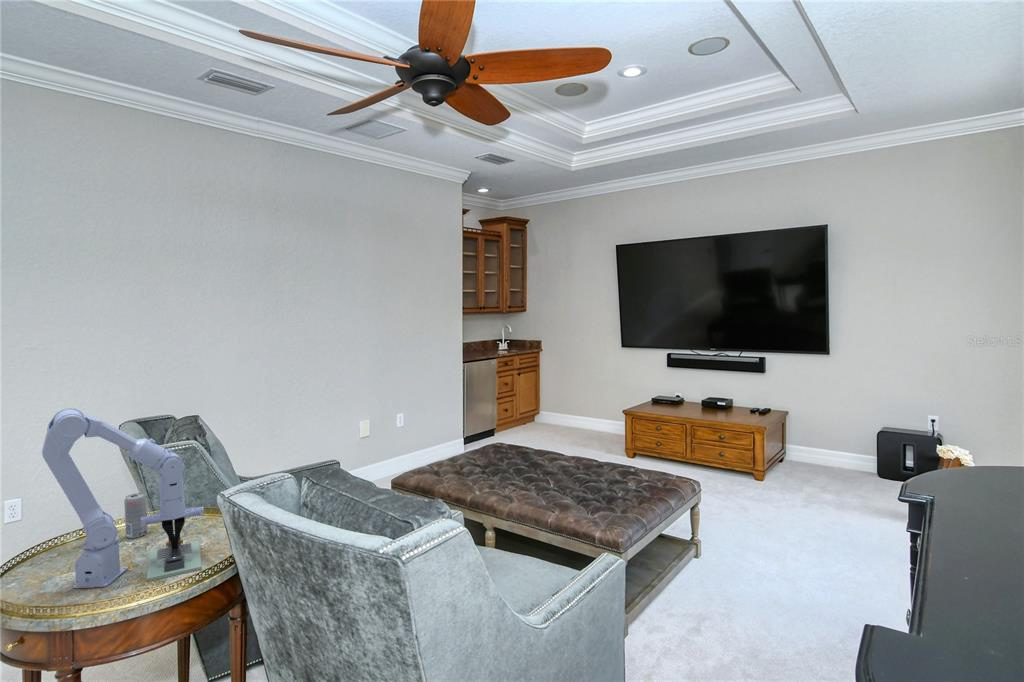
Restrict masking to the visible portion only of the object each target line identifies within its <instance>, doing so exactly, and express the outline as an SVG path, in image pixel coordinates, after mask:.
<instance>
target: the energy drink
mask: <svg viewBox="0 0 1024 682" xmlns="http://www.w3.org/2000/svg"><path fill="white" fill-rule="evenodd" d="M123 504H124V523H125V526H124V527H125V537H126V538H128V539H137V538H136V537H138V538H141V537H140V536H142V537H144V536H146V534H147V533H148V525H146V526H143V527H141V518H142V517H146V516H148V513H147V497H146V494H145V493H140V492H138V493H133V494H129V495H127V496H125V497H124V503H123ZM143 535H144V536H143Z"/></svg>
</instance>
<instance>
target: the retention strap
mask: <svg viewBox="0 0 1024 682" xmlns="http://www.w3.org/2000/svg"><path fill="white" fill-rule="evenodd" d="M181 544H184V539H183V538H180V539H179V540H178V546H176V547H172V545H171V542H170V541H169V540H168V541H166V542H165V548H166V547H167V558H166V563H167V562H171V561H176V560H181V559H182V555H181Z"/></svg>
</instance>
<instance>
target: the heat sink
mask: <svg viewBox="0 0 1024 682" xmlns="http://www.w3.org/2000/svg"><path fill="white" fill-rule="evenodd" d="M181 555H182V559H184V562H189V561H192V549H191V542H188V543H187V544H186V543H182V545H181ZM166 558H167V548H166V547H162V549H161V548H157V560H156V563H157V568H161V567H164V563H165V562H166Z"/></svg>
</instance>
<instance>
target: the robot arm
mask: <svg viewBox="0 0 1024 682" xmlns="http://www.w3.org/2000/svg"><path fill="white" fill-rule="evenodd" d="M83 435H84V437H85V438H86V439H87V438H96V437H99V438H102V439H104V440H105V441H108V442H110V443H112V444H114V445H116V446H118V447H120V448H122V449H125V450H127V451H128V457H129V458H131V459H132V460H134V461H137V462H138V463H140V464H142V465H144V466H146V467H149V468H150V469H152V470H157V472H158V481H159V482H158V491H159V507H160V508H159V509H160V512H158V513H155V514H151V515H147V516H146V517H142V518H141V527H143V526H146V525H147V526H148V525H153V524H159V523H161V527H162V530H163V531H164V532H165V534H166V535H167V536H168V537H169V539H170V542H171V545H172V547H176V546H178V540H179V536H180V537H181V532H182V530H183V528H184V525H185V523H186V519H185V518H192V517H196V516H197V517H198V516H199V517H201V516H205V515H204V514H205V512H204V511H205V509H204V506H198V507H187V508H186V503H185V500H186V499H185V488H184V487H185V485H184V478H183V475H184V474H183V472H184V471H185V468H186V464H185V463H184V459H183V458H181V457H180V455H178V454H177V453H176V452H175V451H172V449H170V448H164V447H162V446H160V445H159V444H158V443H156V440H154V439H153V438H149V439H148V438H145V437H143V438H140V439H138V438H137V439H136V438H134V437H132V436H131V435H129V434H127V433H126V432H124V431H123V430H120V429H119V428H117V427H115V426H114V425H112V424H110V423H108V422H106V421H105V420H102V419H100V418H98V417H97V416H93V415H91V414H88V413H86V412H85V413H83V412H82V411H81V410H79V409H77V408H72V407H68V408H64V409H61V410H60V411H59V410H58V412H57V413H55V414H54V415H53V417H52V418H51V420H50V422H49V423H48V425H47V431H46V433H45V438H44V442H43V445H42V450H41V454H42V458H43V459H44V461H45V463H46V464H47V466H48V468H49V470H50V471H51V473H52V474H53V476H54V478H55V480H56V481H57V483H58V484H59V486H60V487H61V489H62V491H63V492H64V494H65V496H66V497H67V499H68V501H69V502H70V504H71V506H72V507H73V509H74V511H75V512H76V514H77V516H78V518H79V520H80V521H81V524H82V526H83V527H82V529H83V531H84V533H85V537H86V540H85V541H84V543H83V544H82V547H83V548H82V553H81V554H80V556H79V557H77V559H76V560H75V564H74V569H75V584H74V585H72V588H73V589H86V588H104V587H106V588H107V587H108V586H109V585H111V583H113V582H114V581H115V580H116V579H118V578H119V577H120V576H121V575H123V574H124V573H125V572H126V571H127V570H128V569H129V566H121V558H120V543H119V536H118V535H119V534H118V533H119V531H118V527H117V526H116V525H115V522H114V519H113V517H112V515H110V514H109V513H107V512H106V511H104V510H103V509H102V507H101V505H100V504H99V503H98V501H97V499H96V497H95V495H94V494H93V492H92V491H91V489H90V487H89V486H88V484H87V482H86V481H85V479H84V477H83V475H82V474H81V472H80V470H79V468H78V467H77V465H76V463H75V461H74V460H73V458H72V457H71V455H70V451H71V449H72V447H74V444H75V442H76V441H78V439H80V438H81V437H82V436H83ZM174 534H175V539H174ZM169 539H168V540H169Z"/></svg>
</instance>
